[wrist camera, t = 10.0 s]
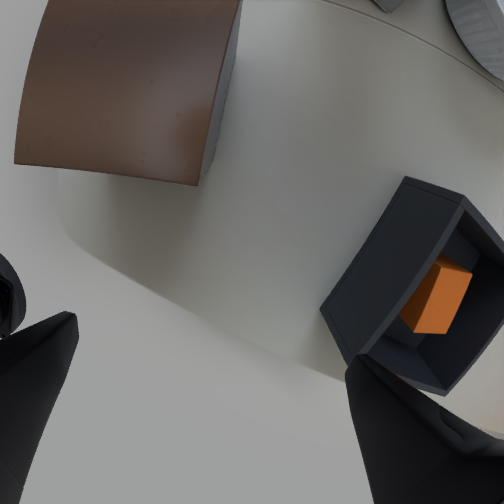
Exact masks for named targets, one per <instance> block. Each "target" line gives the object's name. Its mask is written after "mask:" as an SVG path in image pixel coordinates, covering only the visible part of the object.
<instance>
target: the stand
mask: <svg viewBox="0 0 504 504" xmlns="http://www.w3.org/2000/svg"><path fill="white" fill-rule="evenodd" d="M242 2H243V0H49V1H48V4H47V6H46V9H45V12H44V14H43V17H42V20H41V23H40V26H39V29H38V32H37V36H36V39H35V42H34V46H33V50H32V53H31V57H30V61H29V65H28V69H27V74H26V78H25V83H24V88H23V94H22V99H21V104H20V110H19V118H18V125H17V133H16V142H15V153H14V164H19V165H31V166H32V165H33V166H43V167H54V168H64V169H73V170H82V171H91V172H100V173H108V174H116V175H123V176H131V177H138V178H145V179H152V180H159V181H166V182H172V183H179V184H185V185H191V186H198V184H199V183H200V181H201V179H202V178H203V176H204V174H205V173H206V171H207V169H208V168H209V166H210V165H211V163H212V161H213V158H214V153H215V148H216V143H217V138H218V133H219V128H220V123H221V119H222V114H223V109H224V105H225V100H226V96H227V91H228V87H229V83H230V78H231V74H232V70H233V65H234V61H235V57H236V51H237V42H238V34H239V26H240V18H241V10H242Z"/></svg>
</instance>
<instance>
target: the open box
mask: <svg viewBox="0 0 504 504" xmlns="http://www.w3.org/2000/svg"><path fill="white" fill-rule="evenodd" d="M440 253H442V254H444V255H446V256H447V257H449V258H450V259H452V260H453V261H455V262H456V263H458V264H459V265H460V266H462V267H463V268H465V269H466V270H468V271H469V272H470V273H472V274H473V275H472V277H471V280H470V282H469V285H468V287H467V290H466V292H465V294H464V296H463V299H462V301H461V303H460V305H459V308H458V310H457V312H456V314H455V316H454V318H453V320H452V322H451V324H450V326H449V328H448V330H447V332H446V334H435V333H414V332H412V330H411V329H410V328H409V327H408V326H407V324H406V323H405V322H404V321H403V320H402V318H401V317H400V316H399V315H398V313H399V312H400V311H401V309H402V308H403V306H404V305H405V304H406V302H407V301H408V300H409V298H410V297H411V295H412V294H413V293H414V291H415V290H416V288H417V287H418V285H419V284H420V283H421V281H422V280H423V278H424V277H425V275H426V274H427V272H428V271H429V269H430V268H431V266H432V265H433V263H434V261H435V260H436V258H437V257H438V255H439V254H440ZM320 311H321V313H322V315H323V317H324V319H325V321H326V323H327V325H328V327H329V329H330V331H331V333H332V335H333V337H334V339H335V341H336V343H337V346H338V348H339V350H340V352H341V354H342V356H343V358H344V360H345V362H346V364H347V366H349V364H350V361H351V359H352V357H353V356H354V355H355V354H357V353H358V354H367V355H369V356H370V357H372V358H373V359H374V360H376V361H377V362H379V363H380V364H381V365H383V366H384V367H386V368H387V369H389V370H390V371H391V372H393V373H394V374H396V375H397V376H399V377H400V378H402V379H403V380H404V381H406V382H407V383H409V384H410V385H412V386H413V387H414V388H417V389H420V390H423V391H427V392H430V393H433V394H437V395H440V396H444V397H445V396H446V395H447V394H448V393H449V391H451V390H452V389H453V388H454V386H455V385H456V384H457V383H458V382H459V381H460V380H461V378H462V377H463V376H464V375H465V374H466V373H467V371H468V370H469V369H470V368H471V367H472V365H473V364H474V363H475V362H476V361H477V359H478V358H479V357H480V355H481V354H482V353H483V352H484V350H485V349H486V348H487V346H488V345H489V344H490V342H491V341H492V340H493V338H494V337H495V336H496V334H497V333H498V331H499V330H500V328H501V327H502V326H503V324H504V241H503V240H502V239H501V237H500V236H499V235H498V234H497V232H496V231H495V230H494V229H493V227H492V226H491V225H490V224H489V223H488V221H487V220H486V219H485V218H484V217H483V215H482V214H481V213H480V212H479V211H478V210H477V209H476V207H475V206H474V205H473V204H472V203H471V202H470V201H469V200H468V198H467V197H466V196H465V195H462V194H459V193H457V192H454V191H451V190H448V189H445V188H442V187H439V186H436V185H433V184H430V183H427V182H424V181H421V180H418V179H414V178H411V177H408V176H405V178H404V180H403V181H402V183H401V185H400V186H399V188H398V190H397V192H396V193H395V195H394V197H393V198H392V200H391V202H390V203H389V205H388V207H387V208H386V210H385V212H384V213H383V215H382V216H381V218H380V220H379V221H378V223H377V224H376V226H375V228H374V229H373V231H372V232H371V234H370V235H369V237H368V239H367V240H366V242H365V243H364V245H363V246H362V248H361V249H360V251H359V252H358V254H357V255H356V257H355V258H354V260H353V261H352V263H351V264H350V266H349V267H348V269H347V270H346V272H345V273H344V275H343V276H342V278H341V279H340V281H339V282H338V283H337V285H336V286H335V288H334V289H333V291H332V292H331V293H330V295H329V296H328V298H327V299H326V300H325V302H324V303H323V305H322V306H321V307H320Z"/></svg>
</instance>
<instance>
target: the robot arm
mask: <svg viewBox="0 0 504 504" xmlns="http://www.w3.org/2000/svg"><path fill="white" fill-rule="evenodd" d="M8 287H9V288H8ZM13 295H14V286H13V284H12V283H11V282H10V281H9V280H7V279H6V278H4V277H3V276H1V275H0V338H2V339H1V340H0V504H19V501H20V498H21V495H22V491H23V489H24V488H23V486H24V485H25V482H26V478H27V475H28V472H29V469H30V466H31V463H32V460H33V457H34V455H35V452H36V449H37V447H38V444H39V441H40V439H41V436H42V433H43V431H44V428H45V426H46V423H47V421H48V418H49V416H50V413H51V411H52V409H53V407H54V404H55V402H56V399H57V397H58V395H59V393H60V390H61V388H62V386H63V384H64V381H65V379H66V376H67V373H68V370H69V367H70V364H71V361H72V358H73V355H74V352H75V349H76V346H77V343H78V340H79V332H78V322H77V316H76V315H75V313H71V312H67V311H63V312H61V313H59V314H56V315H54V316H52V317H49V318H47V319H45V320H43V321H41V322H38V323H36V324H34V325H32V326H29V327H27V328H25V329H23V330H21V331H18V332H16V333H14V334H12V335H10V333H11V317H12V305H13ZM345 382H346V388H347V394H348V399H349V406H350V412H351V416H352V420H353V424H354V428H355V431H356V435H357V439H358V442H359V446H360V449H361V453H362V457H363V461H364V465H365V469H366V473H367V477H368V480H369V485H370V489H371V493H372V497H373V501H374V504H504V440H501V439H497V438H494V437H492V436H490V435H489V434H486V433H485V432H483V431H481V430H480V429H478V428H476V427H474V426H473V425H471V424H469V423H467V422H466V421H464V420H462V419H461V418H459V417H457V416H456V415H454V414H453V413H451V412H450V411H448V410H447V409H445V408H444V407H442V406H441V405H440V406H439V404H438V403H436V402H435V401H433V400H432V399H430V398H429V397H428V396H426V395H425V394H423V393H422V392H420V391H419V390H417V389H416V388H414V387H413V386H412V385H410V384H409V383H407V382H406V381H404V380H403V379H402V378H400V377H399V376H397V375H396V374H394V373H393V372H391V371H390V370H389V369H387V368H386V367H384V366H383V365H381V364H380V363H379V362H377V361H376V360H374V359H373V358H372V357H370V356H369V355H367V354H358V353H357V354H355V355H354V356H353V357H352V359H351V361H350V364H349V366H348V368H347V370H346V372H345Z"/></svg>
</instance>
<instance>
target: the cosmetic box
mask: <svg viewBox="0 0 504 504" xmlns="http://www.w3.org/2000/svg"><path fill="white" fill-rule="evenodd" d="M374 1H375V2H376V3H377V4H378V5H379V6H380V7H381V8H382V9H383V10H384V11H385V12H387V13H389V12H392V11H393V10H394V9H396V8H397V7H398V6H399V5H401V4H402V3H403V2H404V1H406V0H374Z"/></svg>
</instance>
